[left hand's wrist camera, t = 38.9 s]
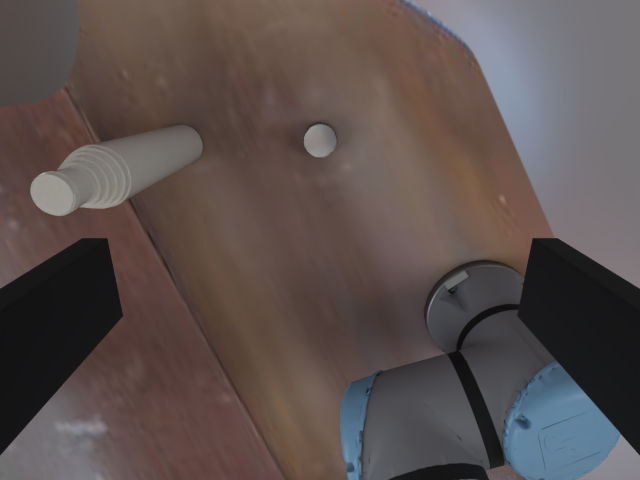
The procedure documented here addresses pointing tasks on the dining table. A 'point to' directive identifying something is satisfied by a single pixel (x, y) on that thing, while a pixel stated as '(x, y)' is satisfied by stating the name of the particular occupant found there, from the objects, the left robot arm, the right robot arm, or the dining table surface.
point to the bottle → (115, 169)
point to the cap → (320, 140)
